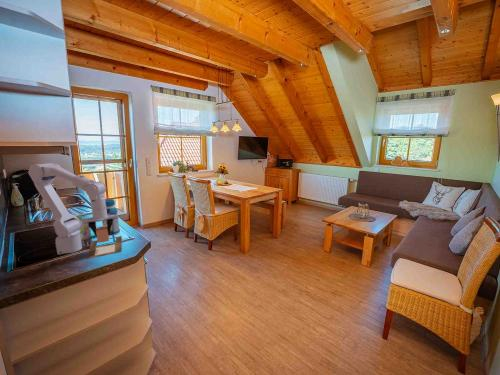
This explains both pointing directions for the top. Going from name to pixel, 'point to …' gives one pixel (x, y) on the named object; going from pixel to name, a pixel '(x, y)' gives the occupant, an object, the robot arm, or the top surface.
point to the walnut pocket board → (94, 245)
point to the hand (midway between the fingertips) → (103, 235)
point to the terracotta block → (102, 234)
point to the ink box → (84, 230)
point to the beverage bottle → (112, 211)
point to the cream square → (104, 250)
